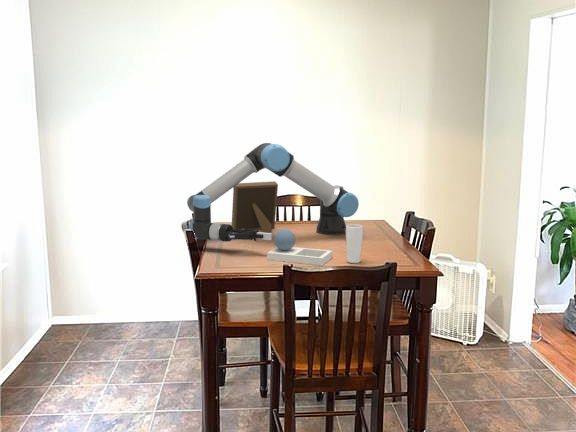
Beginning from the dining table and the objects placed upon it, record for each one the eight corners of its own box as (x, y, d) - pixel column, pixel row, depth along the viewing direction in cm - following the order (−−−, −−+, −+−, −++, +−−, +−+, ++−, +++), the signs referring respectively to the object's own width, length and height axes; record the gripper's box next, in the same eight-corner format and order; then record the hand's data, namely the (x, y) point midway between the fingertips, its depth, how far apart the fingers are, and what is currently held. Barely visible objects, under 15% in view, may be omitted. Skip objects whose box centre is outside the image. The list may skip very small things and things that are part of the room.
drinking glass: (344, 260, 241) (344, 224, 238) (360, 259, 241) (360, 224, 239) (347, 264, 234) (347, 227, 231) (363, 263, 235) (364, 227, 232)
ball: (292, 247, 250) (292, 226, 249) (297, 252, 242) (297, 231, 240) (272, 248, 249) (271, 227, 247) (276, 253, 240) (276, 232, 238)
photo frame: (231, 230, 299) (230, 181, 294) (271, 227, 306) (271, 179, 301) (239, 236, 285) (238, 186, 280) (281, 233, 293) (281, 183, 288)
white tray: (267, 259, 242) (267, 252, 241) (279, 252, 254) (279, 245, 253) (322, 265, 233) (322, 258, 232) (332, 257, 244) (332, 250, 244)
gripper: (229, 237, 262) (277, 242, 253) (214, 244, 250) (264, 248, 241) (228, 221, 260) (277, 225, 251) (214, 226, 249) (264, 231, 240)
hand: (271, 236), depth 246 cm, fingers closed
